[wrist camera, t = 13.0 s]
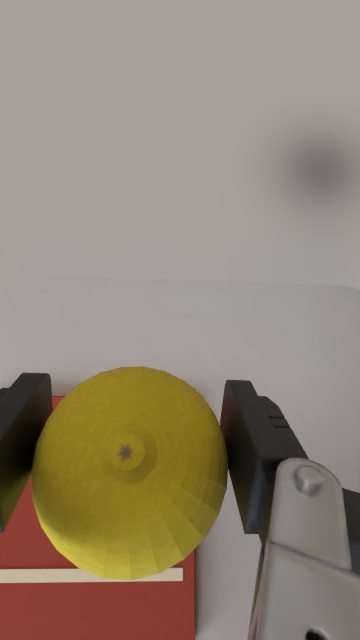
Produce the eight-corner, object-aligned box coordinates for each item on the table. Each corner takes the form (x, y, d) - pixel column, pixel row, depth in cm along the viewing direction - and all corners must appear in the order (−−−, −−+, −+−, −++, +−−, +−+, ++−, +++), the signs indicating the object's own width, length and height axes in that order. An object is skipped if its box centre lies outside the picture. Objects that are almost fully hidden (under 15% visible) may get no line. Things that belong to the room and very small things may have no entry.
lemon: (93, 388, 15) (43, 302, 8) (213, 415, 15) (274, 353, 8) (47, 531, 12) (-90, 596, 5) (192, 563, 12) (251, 674, 5)
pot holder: (192, 402, 28) (193, 400, 27) (194, 639, 21) (195, 644, 20) (-7, 395, 26) (-11, 393, 26) (-72, 646, 20) (-79, 651, 19)
